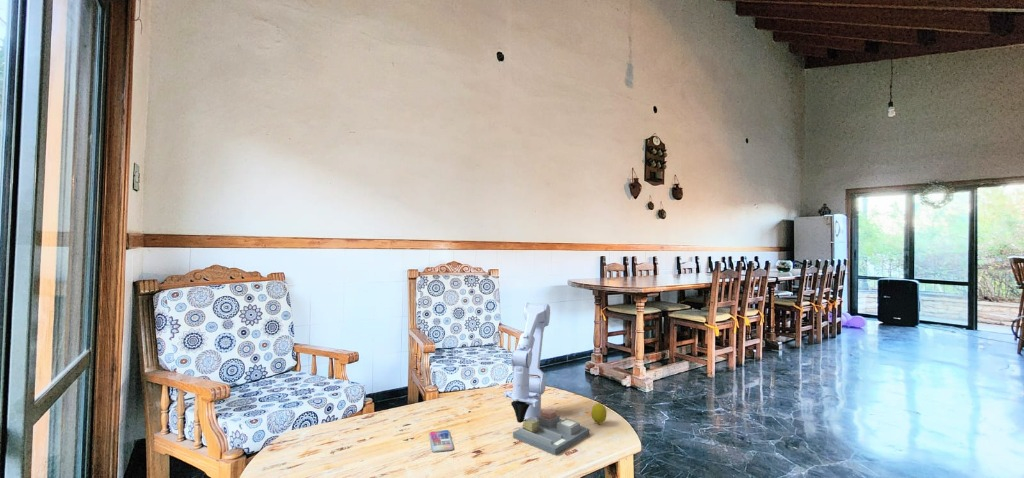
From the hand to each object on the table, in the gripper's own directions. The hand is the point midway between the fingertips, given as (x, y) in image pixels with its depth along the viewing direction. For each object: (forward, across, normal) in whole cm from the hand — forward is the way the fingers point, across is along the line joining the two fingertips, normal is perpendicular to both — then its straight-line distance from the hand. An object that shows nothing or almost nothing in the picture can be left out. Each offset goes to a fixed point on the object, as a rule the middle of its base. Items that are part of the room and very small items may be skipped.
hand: (520, 421), depth 156 cm
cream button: (+1, +14, +10) cm, 17 cm away
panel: (+4, +10, +6) cm, 12 cm away
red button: (0, +5, +10) cm, 11 cm away
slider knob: (+2, +5, 0) cm, 5 cm away
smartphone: (+4, -15, -24) cm, 29 cm away
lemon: (+4, +17, +26) cm, 31 cm away
